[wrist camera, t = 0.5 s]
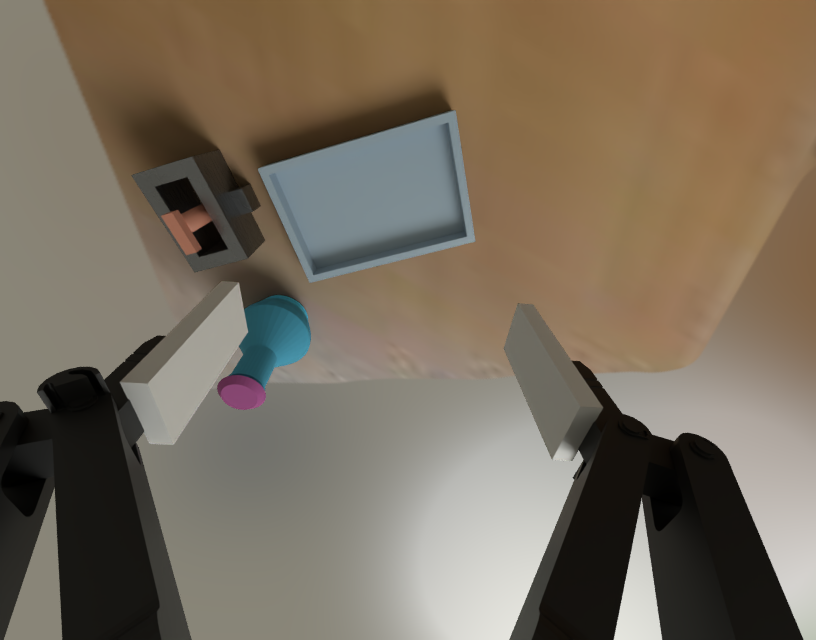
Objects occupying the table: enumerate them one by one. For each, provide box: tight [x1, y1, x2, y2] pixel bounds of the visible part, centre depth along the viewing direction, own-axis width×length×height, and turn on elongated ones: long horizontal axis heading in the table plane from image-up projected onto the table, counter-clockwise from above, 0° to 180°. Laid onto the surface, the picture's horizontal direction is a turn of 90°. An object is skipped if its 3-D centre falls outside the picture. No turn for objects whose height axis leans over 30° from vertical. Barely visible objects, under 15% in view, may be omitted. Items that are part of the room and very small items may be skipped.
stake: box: [161, 204, 212, 255], centre depth 34 cm, size 4×2×9 cm, turn 14°
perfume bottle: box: [217, 295, 311, 410], centre depth 39 cm, size 9×9×15 cm
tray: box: [258, 110, 475, 283], centre depth 37 cm, size 13×20×2 cm, turn 104°
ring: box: [131, 150, 265, 272], centre depth 35 cm, size 10×8×6 cm
